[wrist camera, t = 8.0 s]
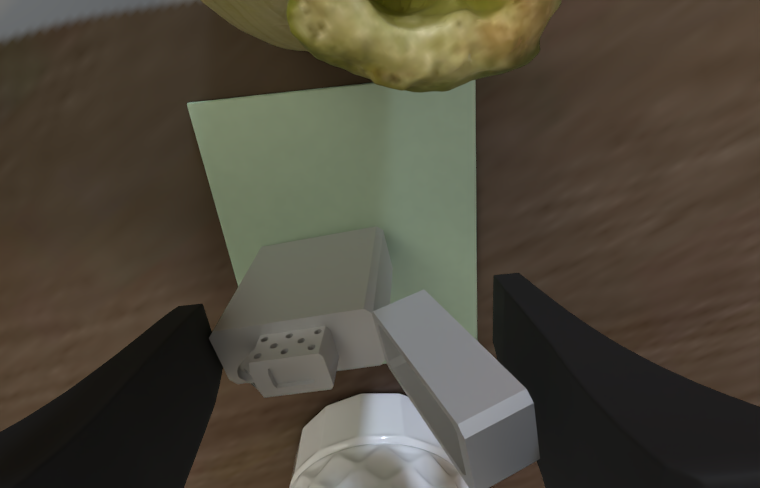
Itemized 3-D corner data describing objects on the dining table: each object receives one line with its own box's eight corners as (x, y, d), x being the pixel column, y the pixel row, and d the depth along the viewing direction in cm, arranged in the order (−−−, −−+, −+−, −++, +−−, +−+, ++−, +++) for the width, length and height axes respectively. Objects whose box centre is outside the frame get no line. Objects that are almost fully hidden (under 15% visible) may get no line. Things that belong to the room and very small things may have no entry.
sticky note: (474, 71, 13) (475, 72, 13) (476, 351, 18) (477, 355, 18) (188, 102, 14) (186, 103, 13) (264, 372, 18) (263, 376, 18)
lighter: (273, 292, 16) (167, 526, 9) (256, 247, 16) (126, 467, 9) (486, 257, 15) (548, 495, 8) (478, 207, 14) (541, 423, 7)
